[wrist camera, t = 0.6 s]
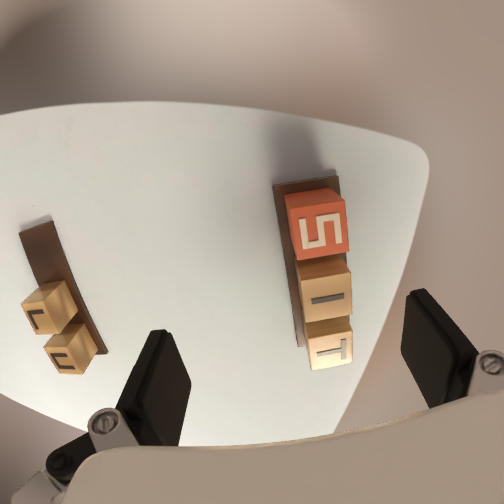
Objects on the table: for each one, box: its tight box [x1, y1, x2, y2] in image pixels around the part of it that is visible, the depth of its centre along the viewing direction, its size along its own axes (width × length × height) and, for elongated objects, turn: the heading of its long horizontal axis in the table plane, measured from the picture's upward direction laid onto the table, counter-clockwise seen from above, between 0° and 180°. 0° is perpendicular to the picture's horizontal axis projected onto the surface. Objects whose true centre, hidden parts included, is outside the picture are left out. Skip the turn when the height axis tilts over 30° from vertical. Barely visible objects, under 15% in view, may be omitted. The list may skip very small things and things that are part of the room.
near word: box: [272, 175, 352, 370], centre depth 28 cm, size 18×6×6 cm, turn 11°
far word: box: [19, 221, 108, 375], centre depth 30 cm, size 18×6×6 cm, turn 11°
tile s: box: [284, 188, 349, 260], centre depth 25 cm, size 4×4×5 cm
